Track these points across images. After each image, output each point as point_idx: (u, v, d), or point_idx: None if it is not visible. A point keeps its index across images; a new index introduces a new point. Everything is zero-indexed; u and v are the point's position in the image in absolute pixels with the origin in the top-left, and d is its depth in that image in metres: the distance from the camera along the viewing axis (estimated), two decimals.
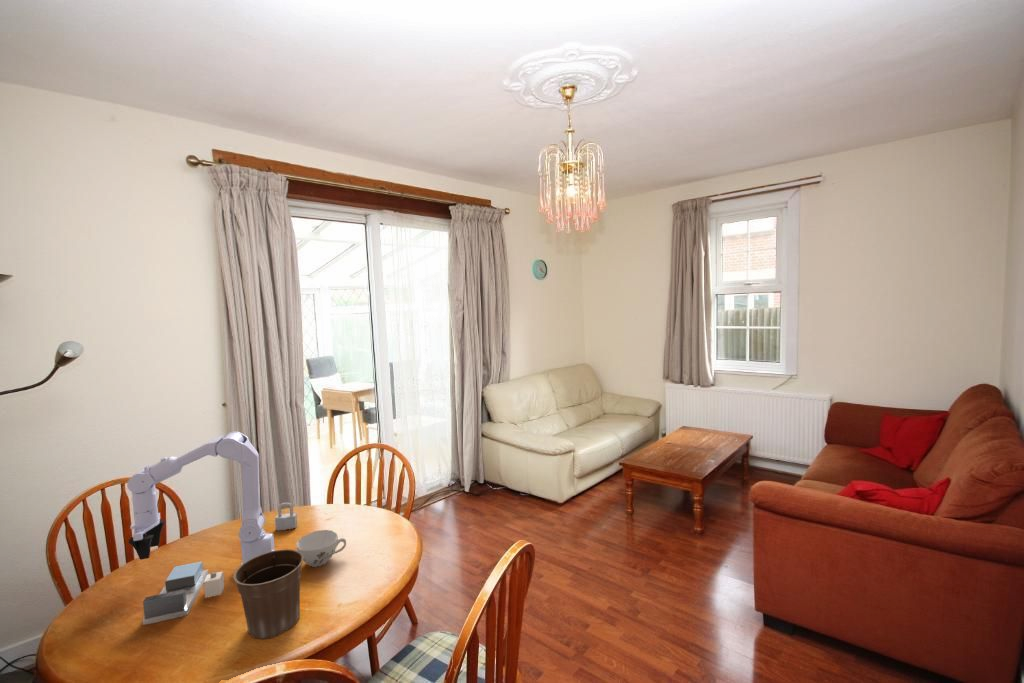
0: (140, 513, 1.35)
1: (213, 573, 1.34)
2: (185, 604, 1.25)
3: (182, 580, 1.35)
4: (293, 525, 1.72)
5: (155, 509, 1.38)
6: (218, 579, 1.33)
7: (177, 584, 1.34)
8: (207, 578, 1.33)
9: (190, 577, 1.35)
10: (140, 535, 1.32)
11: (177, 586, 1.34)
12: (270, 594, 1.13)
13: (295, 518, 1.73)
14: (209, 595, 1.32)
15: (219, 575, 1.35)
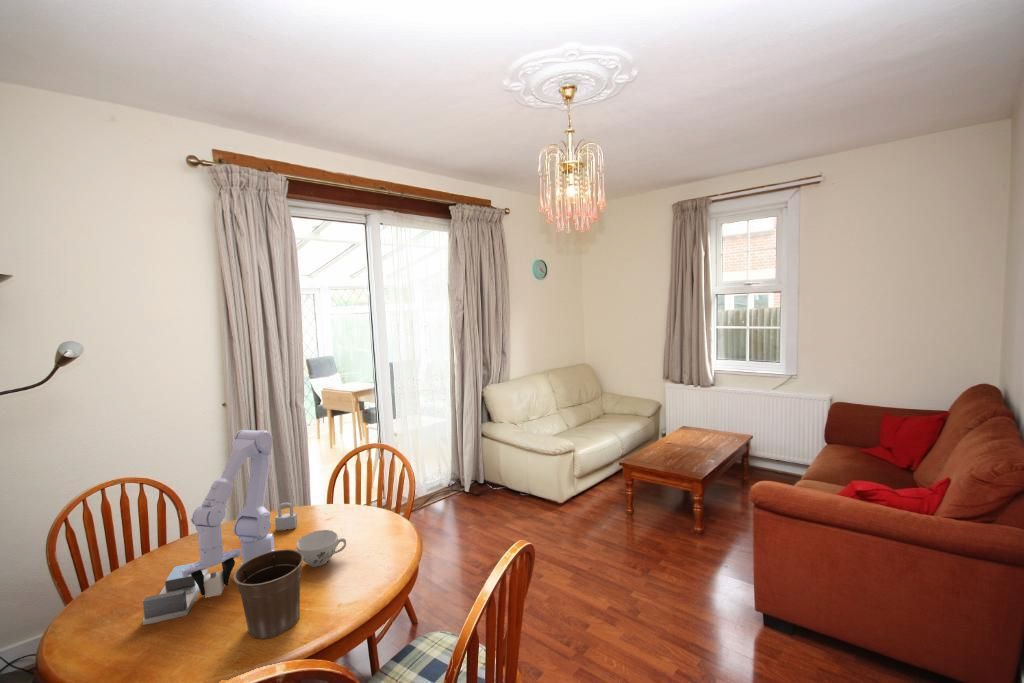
0: (199, 548, 1.32)
1: (213, 573, 1.34)
2: (185, 604, 1.25)
3: (182, 580, 1.35)
4: (293, 525, 1.72)
5: (210, 550, 1.31)
6: (218, 579, 1.33)
7: (177, 584, 1.34)
8: (207, 578, 1.33)
9: (190, 577, 1.35)
10: (183, 573, 1.28)
11: (177, 586, 1.34)
12: (270, 594, 1.13)
13: (295, 518, 1.73)
14: (209, 595, 1.32)
15: (219, 575, 1.35)
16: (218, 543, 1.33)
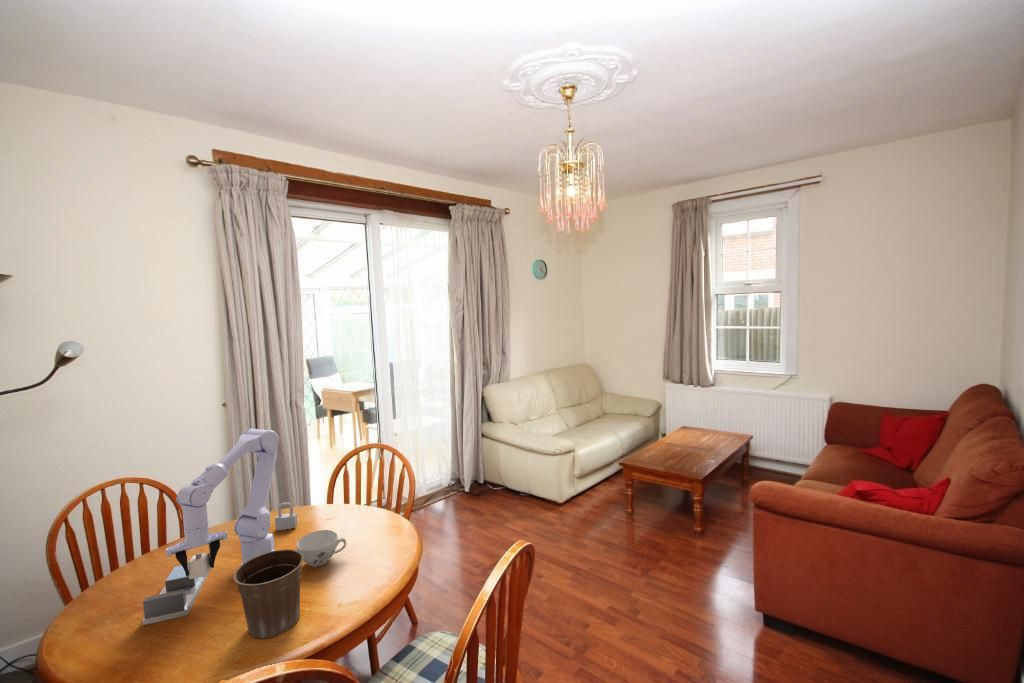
0: (184, 528, 1.29)
1: (198, 554, 1.32)
2: (185, 604, 1.25)
3: (182, 580, 1.35)
4: (293, 525, 1.72)
5: (194, 530, 1.29)
6: (202, 560, 1.30)
7: (177, 584, 1.34)
8: (192, 559, 1.31)
9: None
10: (166, 552, 1.26)
11: (177, 586, 1.34)
12: (270, 594, 1.13)
13: (295, 518, 1.73)
14: (193, 576, 1.30)
15: (204, 556, 1.32)
16: (202, 524, 1.30)
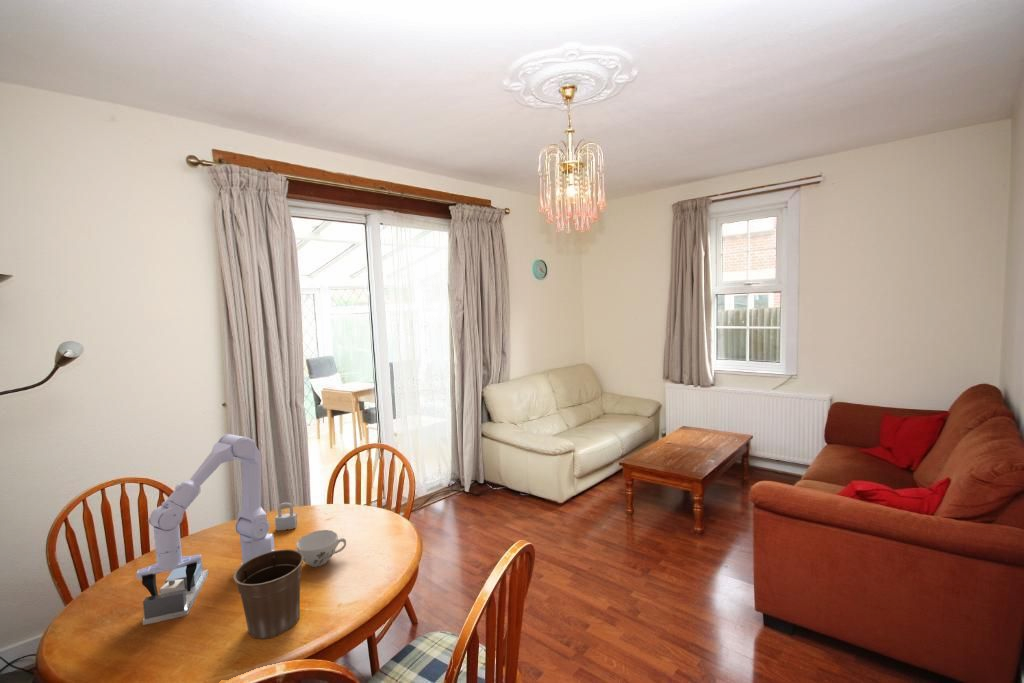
0: None
1: (171, 580, 1.28)
2: (185, 604, 1.25)
3: None
4: (293, 525, 1.72)
5: (163, 554, 1.25)
6: (173, 588, 1.27)
7: None
8: (165, 585, 1.28)
9: None
10: None
11: None
12: (270, 594, 1.13)
13: (295, 518, 1.73)
14: None
15: (177, 583, 1.28)
16: (173, 548, 1.26)
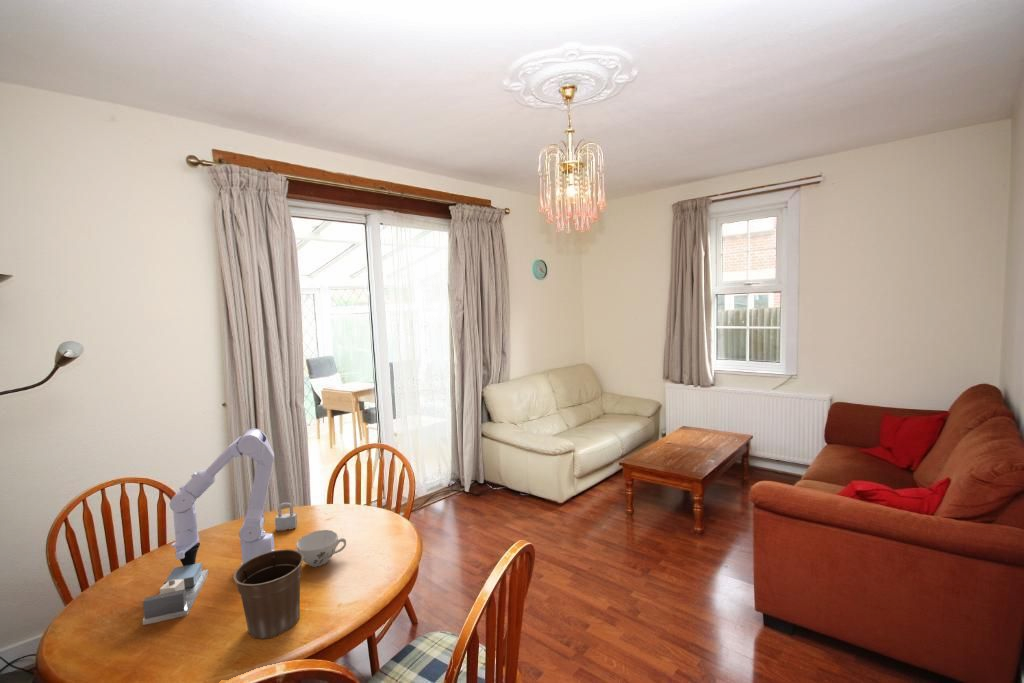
0: (181, 532, 1.39)
1: (171, 580, 1.28)
2: (185, 604, 1.25)
3: None
4: (293, 525, 1.72)
5: (195, 528, 1.42)
6: (173, 588, 1.27)
7: None
8: (165, 585, 1.28)
9: (189, 578, 1.34)
10: (182, 554, 1.36)
11: None
12: (270, 594, 1.13)
13: (295, 518, 1.73)
14: None
15: (177, 583, 1.28)
16: (182, 529, 1.39)
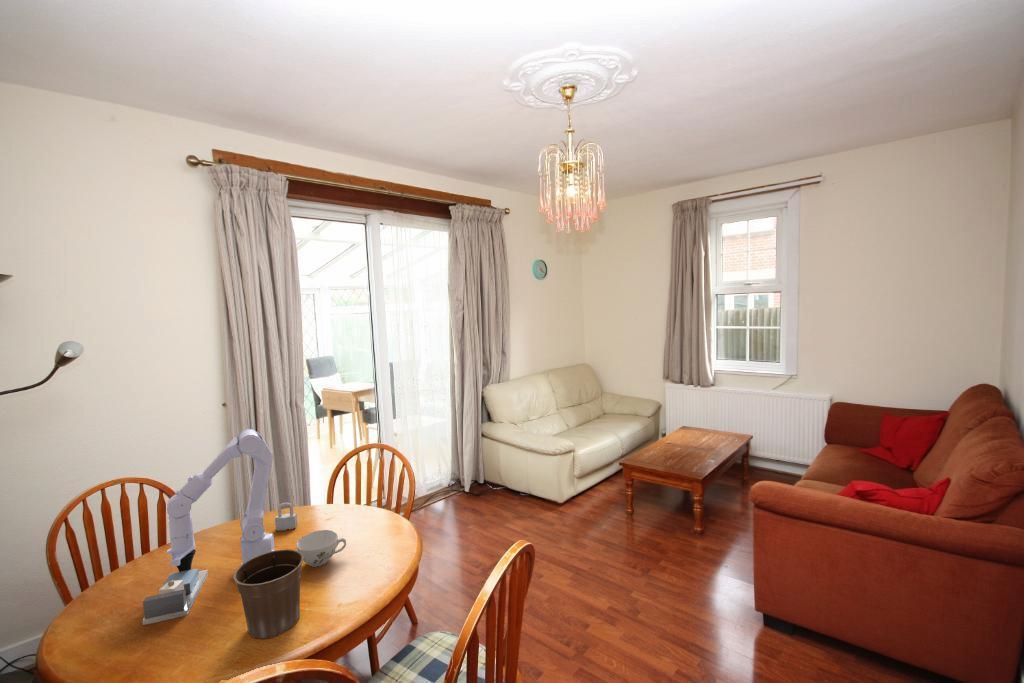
0: (177, 538, 1.35)
1: (171, 581, 1.28)
2: (185, 604, 1.25)
3: None
4: (293, 525, 1.72)
5: (191, 534, 1.38)
6: (173, 589, 1.26)
7: None
8: (164, 586, 1.27)
9: (185, 585, 1.31)
10: (178, 561, 1.32)
11: None
12: (270, 594, 1.13)
13: (295, 518, 1.73)
14: None
15: (176, 584, 1.28)
16: (181, 535, 1.36)
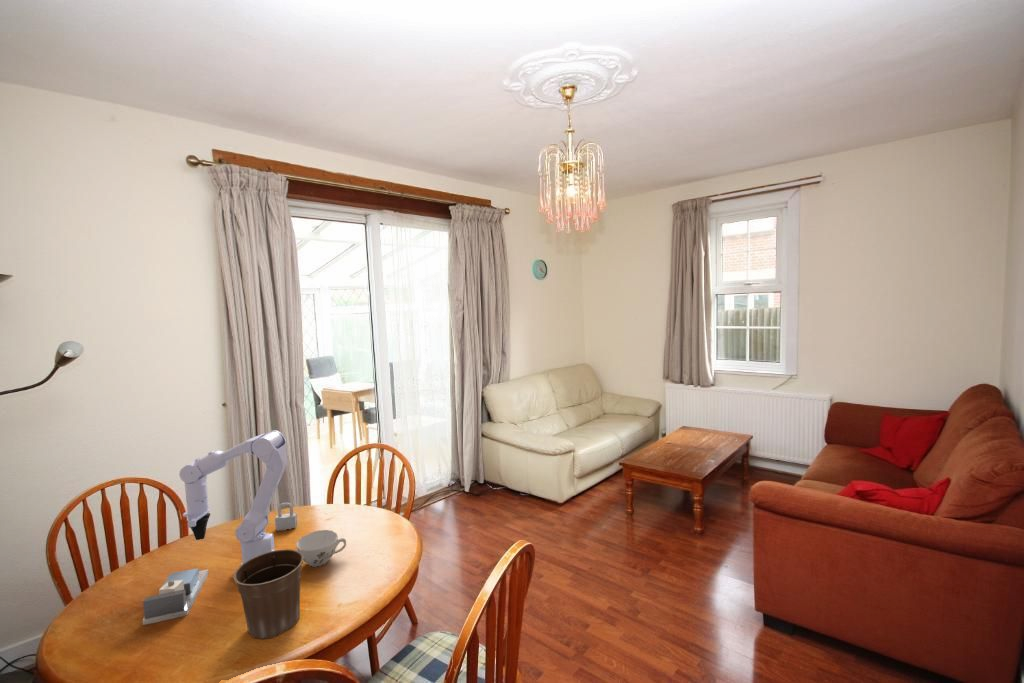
0: (193, 502, 1.44)
1: (171, 581, 1.28)
2: (185, 604, 1.25)
3: None
4: (293, 525, 1.72)
5: (206, 498, 1.47)
6: (173, 589, 1.26)
7: None
8: (164, 586, 1.27)
9: (185, 584, 1.31)
10: (194, 522, 1.41)
11: None
12: (270, 594, 1.13)
13: (295, 518, 1.73)
14: None
15: (176, 584, 1.28)
16: (190, 499, 1.44)
